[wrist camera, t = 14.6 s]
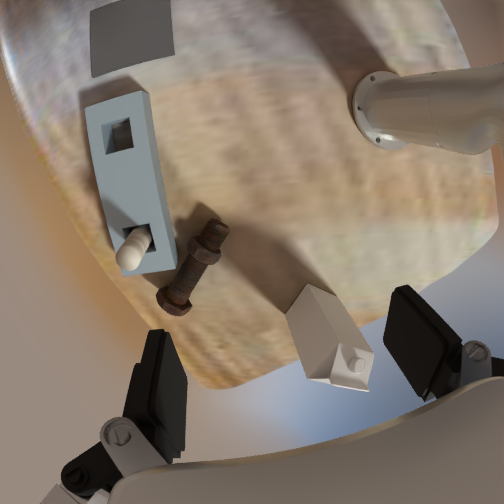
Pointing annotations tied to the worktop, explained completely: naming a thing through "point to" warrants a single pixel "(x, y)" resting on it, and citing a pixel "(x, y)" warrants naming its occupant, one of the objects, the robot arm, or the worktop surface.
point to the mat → (130, 34)
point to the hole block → (131, 179)
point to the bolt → (193, 268)
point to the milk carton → (329, 340)
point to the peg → (134, 247)
